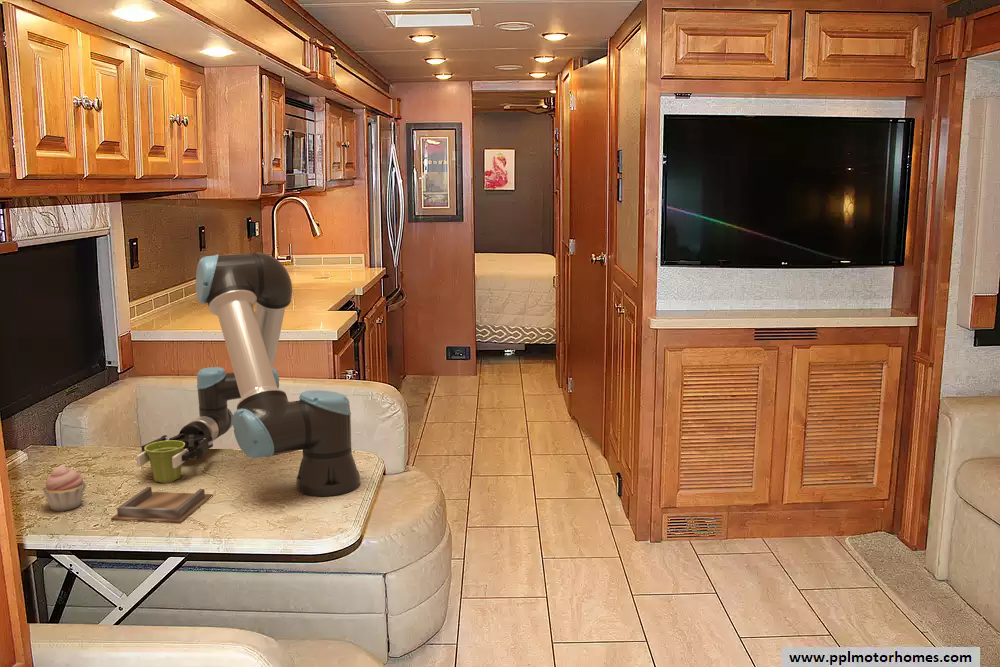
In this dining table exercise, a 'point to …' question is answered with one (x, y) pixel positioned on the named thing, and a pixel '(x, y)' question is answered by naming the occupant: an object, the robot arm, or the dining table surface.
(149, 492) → the keeper bracket
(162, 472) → the plant pot
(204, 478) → the dining table surface
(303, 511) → the dining table surface
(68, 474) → the cupcake
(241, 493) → the dining table surface
